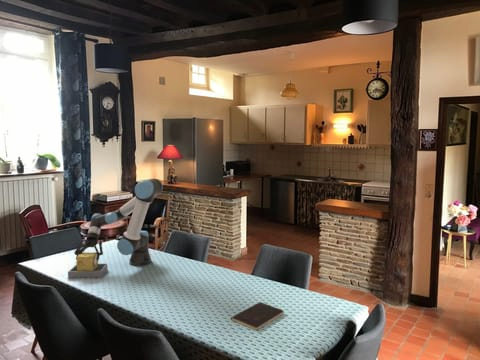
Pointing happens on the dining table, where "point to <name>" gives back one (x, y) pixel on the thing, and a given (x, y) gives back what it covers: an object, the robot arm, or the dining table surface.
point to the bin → (88, 272)
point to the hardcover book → (257, 315)
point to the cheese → (86, 262)
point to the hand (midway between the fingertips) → (86, 264)
